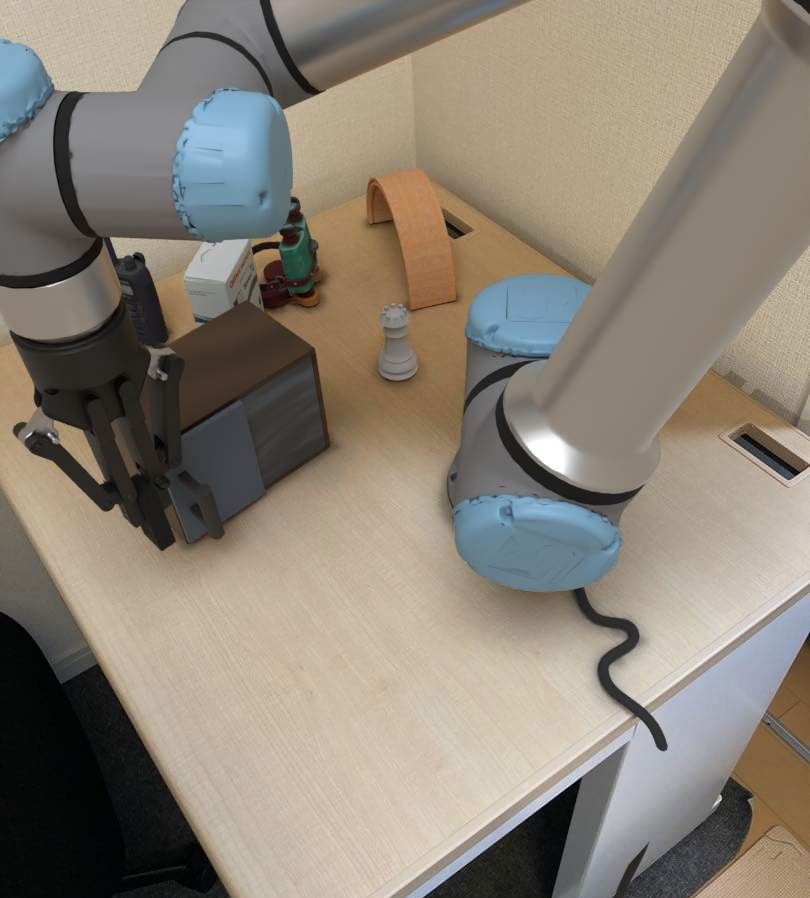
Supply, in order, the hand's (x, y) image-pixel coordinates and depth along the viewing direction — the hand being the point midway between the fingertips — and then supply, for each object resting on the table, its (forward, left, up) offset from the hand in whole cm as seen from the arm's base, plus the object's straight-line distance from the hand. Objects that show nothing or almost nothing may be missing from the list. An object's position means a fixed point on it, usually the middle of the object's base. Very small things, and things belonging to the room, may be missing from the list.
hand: (160, 537), depth 77 cm
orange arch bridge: (+22, -49, -3) cm, 54 cm away
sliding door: (+2, -8, -7) cm, 11 cm away
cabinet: (+10, -13, -8) cm, 18 cm away
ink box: (+25, -25, -8) cm, 36 cm away
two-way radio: (+34, -19, -8) cm, 39 cm away
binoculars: (+29, -35, -8) cm, 46 cm away
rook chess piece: (+8, -34, -8) cm, 36 cm away
